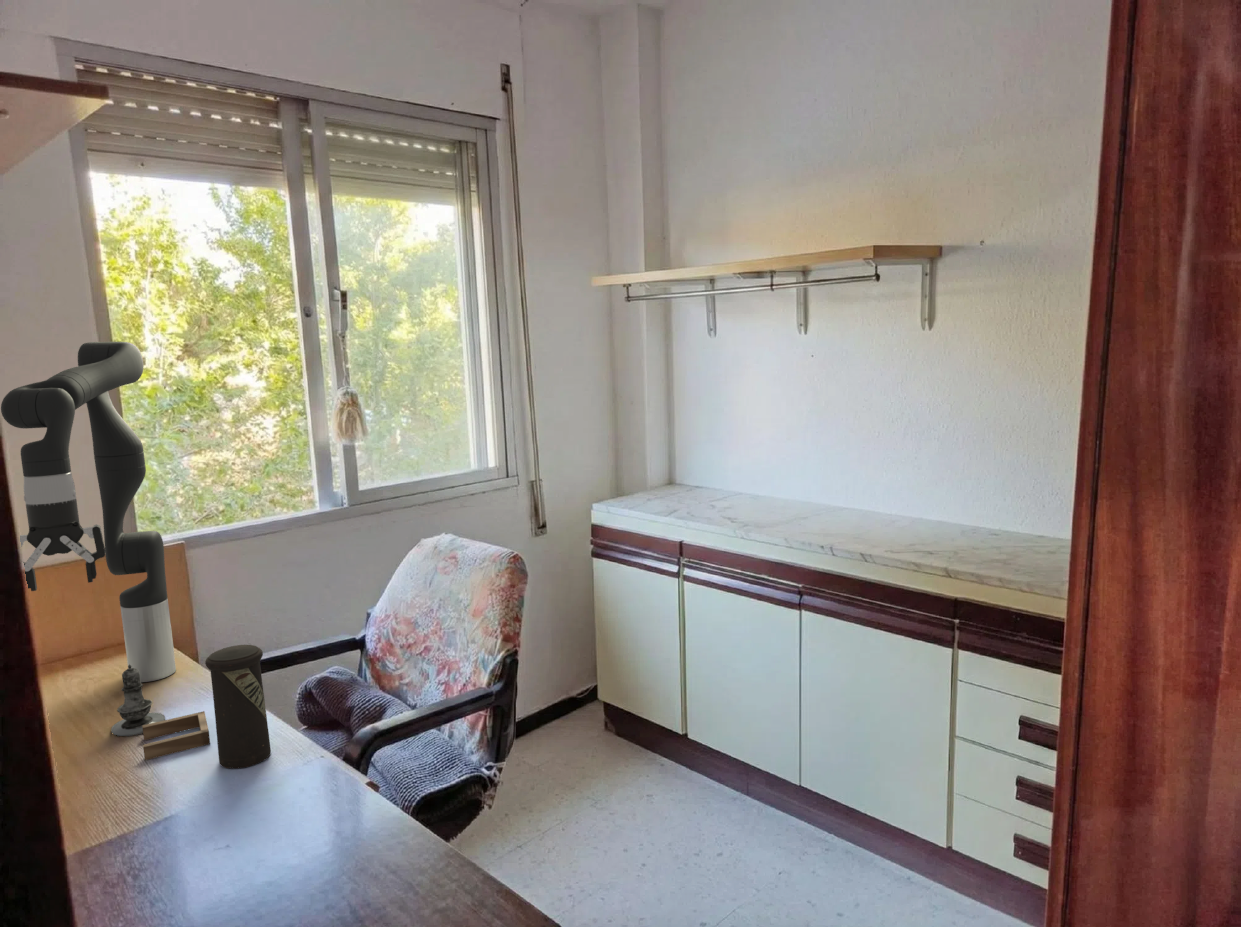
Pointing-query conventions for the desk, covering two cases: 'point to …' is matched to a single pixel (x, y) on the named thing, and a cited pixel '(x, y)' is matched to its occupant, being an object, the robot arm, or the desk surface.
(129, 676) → the stone finial
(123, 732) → the grey oval disc
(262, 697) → the container
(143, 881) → the desk surface
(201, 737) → the wooden arch
